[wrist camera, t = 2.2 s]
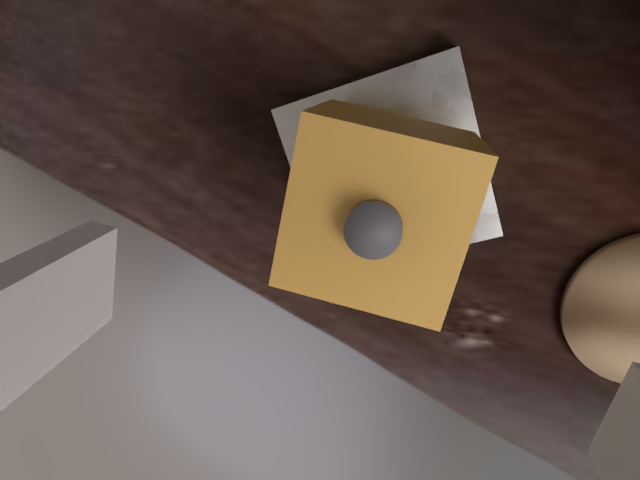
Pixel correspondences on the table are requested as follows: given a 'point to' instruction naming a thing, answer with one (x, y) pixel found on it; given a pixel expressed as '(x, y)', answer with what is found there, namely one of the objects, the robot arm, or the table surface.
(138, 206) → the table surface
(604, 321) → the cork pad
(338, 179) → the yellow knobbed cube
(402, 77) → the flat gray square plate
